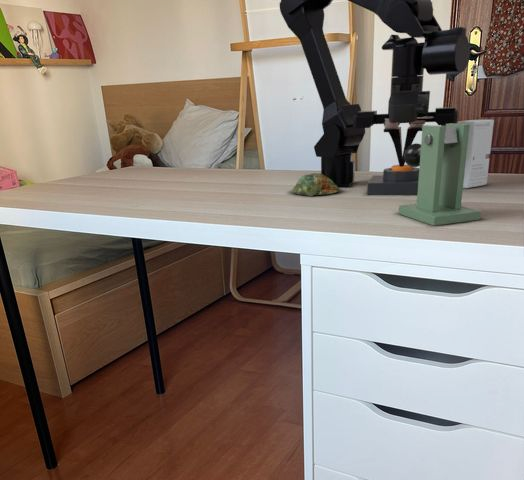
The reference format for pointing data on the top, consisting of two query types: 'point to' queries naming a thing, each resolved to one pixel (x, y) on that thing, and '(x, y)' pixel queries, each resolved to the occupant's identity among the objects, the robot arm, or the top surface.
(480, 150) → the cosmetic box
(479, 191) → the top surface
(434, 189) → the bracket
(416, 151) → the lever
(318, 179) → the green mottled dome
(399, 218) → the top surface
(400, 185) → the button box
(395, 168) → the button
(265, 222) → the top surface
